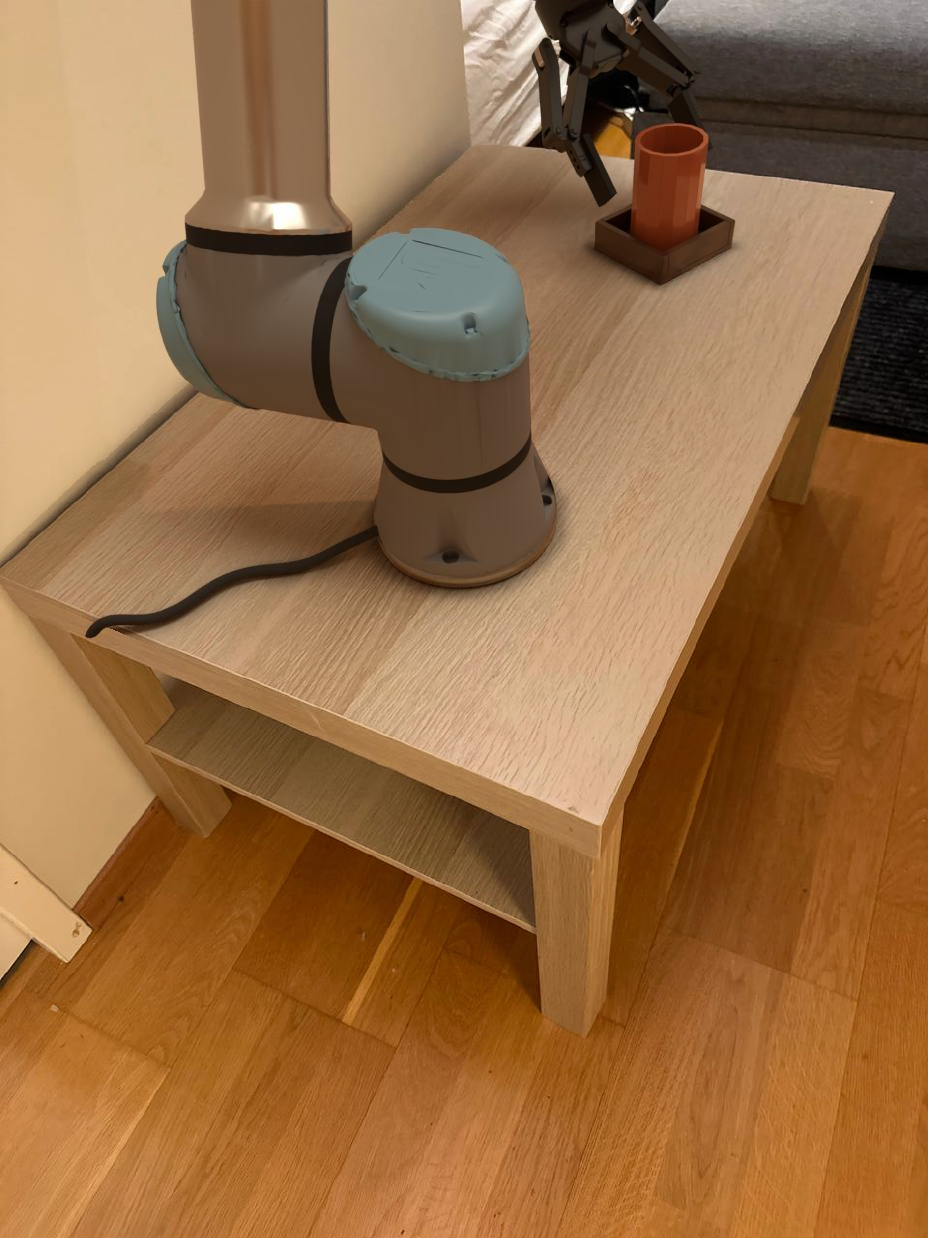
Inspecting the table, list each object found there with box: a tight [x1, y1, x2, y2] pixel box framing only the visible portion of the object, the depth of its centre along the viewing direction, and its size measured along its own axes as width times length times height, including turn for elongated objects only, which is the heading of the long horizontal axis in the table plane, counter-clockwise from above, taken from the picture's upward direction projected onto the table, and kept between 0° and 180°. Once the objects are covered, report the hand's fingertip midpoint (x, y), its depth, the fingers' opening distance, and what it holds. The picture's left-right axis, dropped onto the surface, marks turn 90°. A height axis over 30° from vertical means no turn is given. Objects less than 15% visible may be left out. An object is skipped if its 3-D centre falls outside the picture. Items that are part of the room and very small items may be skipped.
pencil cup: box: [630, 122, 709, 252], centre depth 95 cm, size 7×7×11 cm
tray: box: [593, 203, 736, 285], centre depth 98 cm, size 11×11×3 cm
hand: (656, 177), depth 95 cm, fingers open, 13 cm apart
